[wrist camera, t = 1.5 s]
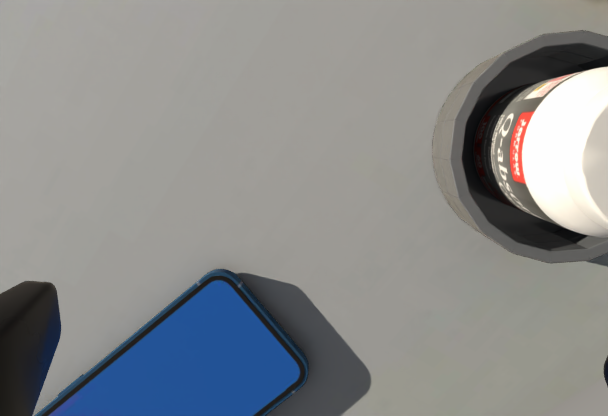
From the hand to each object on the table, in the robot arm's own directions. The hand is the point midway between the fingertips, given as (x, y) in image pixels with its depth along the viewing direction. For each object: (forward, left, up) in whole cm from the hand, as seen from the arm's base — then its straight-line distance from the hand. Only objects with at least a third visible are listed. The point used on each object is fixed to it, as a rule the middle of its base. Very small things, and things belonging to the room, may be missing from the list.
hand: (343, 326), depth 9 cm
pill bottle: (-7, -6, -17) cm, 20 cm away
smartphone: (+4, +13, -18) cm, 22 cm away
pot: (-7, -6, -18) cm, 20 cm away
